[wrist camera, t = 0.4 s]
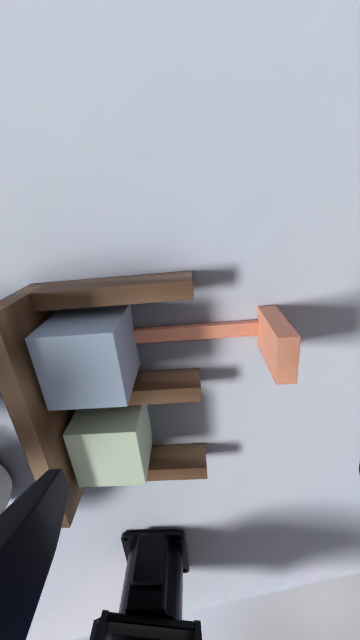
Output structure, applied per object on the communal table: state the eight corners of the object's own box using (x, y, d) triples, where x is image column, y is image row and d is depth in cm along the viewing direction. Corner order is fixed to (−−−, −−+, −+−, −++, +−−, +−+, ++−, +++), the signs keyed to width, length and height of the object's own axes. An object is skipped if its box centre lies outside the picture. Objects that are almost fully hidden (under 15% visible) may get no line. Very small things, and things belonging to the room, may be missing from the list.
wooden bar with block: (273, 355, 22) (296, 397, 17) (76, 367, 23) (48, 410, 18) (276, 291, 20) (302, 319, 15) (61, 307, 21) (24, 338, 16)
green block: (152, 438, 25) (145, 484, 21) (96, 440, 26) (79, 487, 22) (145, 390, 24) (135, 431, 19) (84, 394, 24) (62, 435, 20)
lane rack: (205, 453, 26) (210, 523, 20) (82, 458, 26) (53, 527, 21) (191, 270, 20) (192, 299, 14) (30, 283, 20) (-30, 316, 15)
